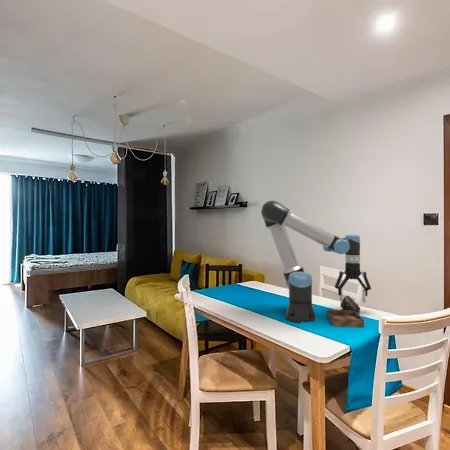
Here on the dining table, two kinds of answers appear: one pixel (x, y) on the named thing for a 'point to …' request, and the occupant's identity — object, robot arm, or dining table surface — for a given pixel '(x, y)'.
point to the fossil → (349, 304)
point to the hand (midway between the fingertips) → (352, 301)
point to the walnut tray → (345, 318)
